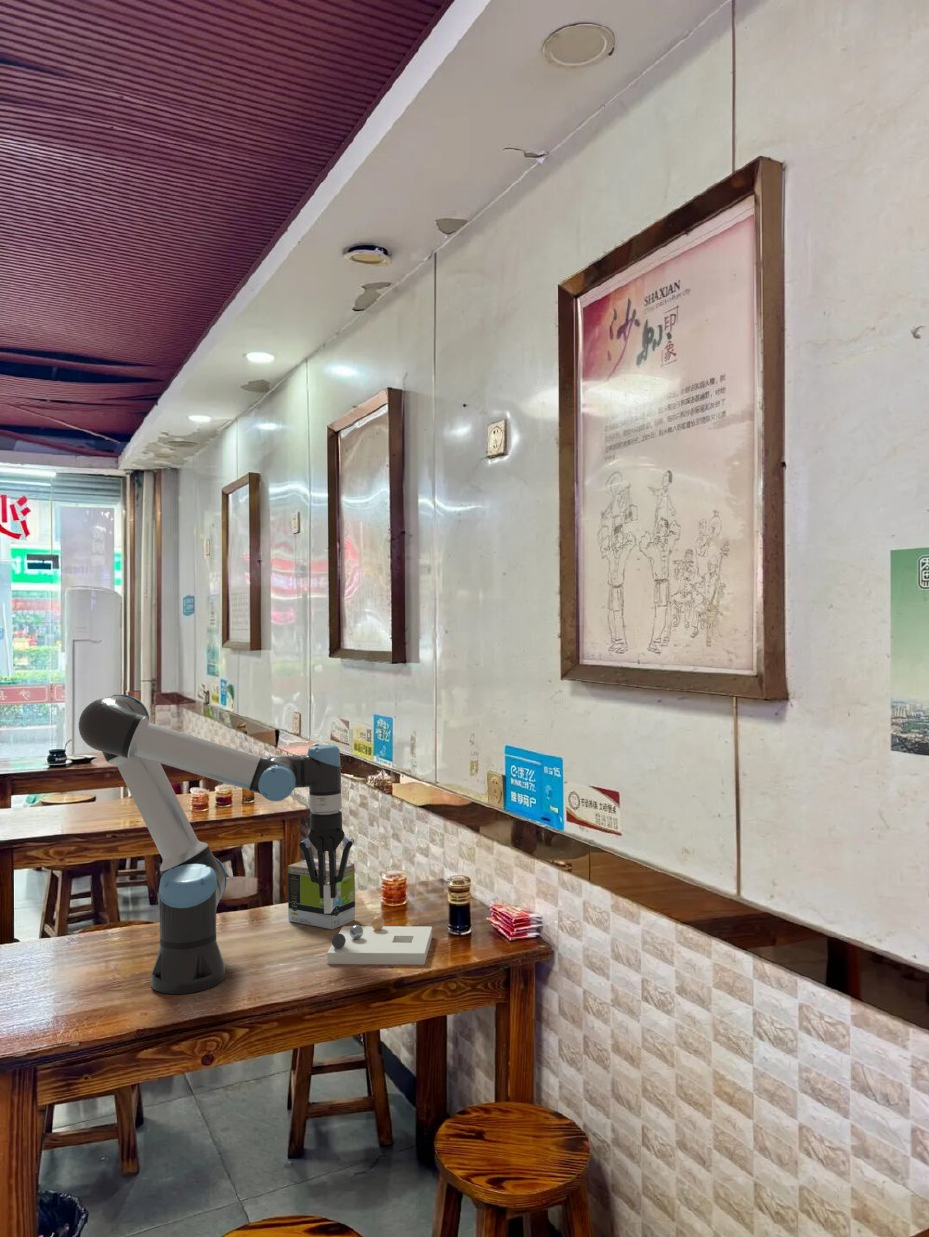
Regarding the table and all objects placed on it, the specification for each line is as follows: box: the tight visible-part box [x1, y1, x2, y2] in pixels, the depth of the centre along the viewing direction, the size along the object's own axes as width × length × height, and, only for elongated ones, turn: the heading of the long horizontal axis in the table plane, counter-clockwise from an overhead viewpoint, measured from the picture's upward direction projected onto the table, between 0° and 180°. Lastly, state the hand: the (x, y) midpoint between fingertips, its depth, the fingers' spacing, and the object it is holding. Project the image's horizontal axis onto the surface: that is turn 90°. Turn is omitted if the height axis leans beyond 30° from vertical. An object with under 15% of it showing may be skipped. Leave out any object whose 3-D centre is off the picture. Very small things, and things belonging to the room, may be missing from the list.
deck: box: [326, 925, 433, 966], centre depth 202 cm, size 22×18×2 cm
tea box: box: [287, 857, 356, 930], centre depth 224 cm, size 15×10×15 cm
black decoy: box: [331, 933, 346, 948], centre depth 197 cm, size 3×3×3 cm
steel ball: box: [350, 924, 363, 939], centre depth 203 cm, size 3×3×3 cm
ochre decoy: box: [370, 915, 385, 930], centre depth 209 cm, size 3×3×3 cm
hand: (328, 911), depth 203 cm, fingers closed
